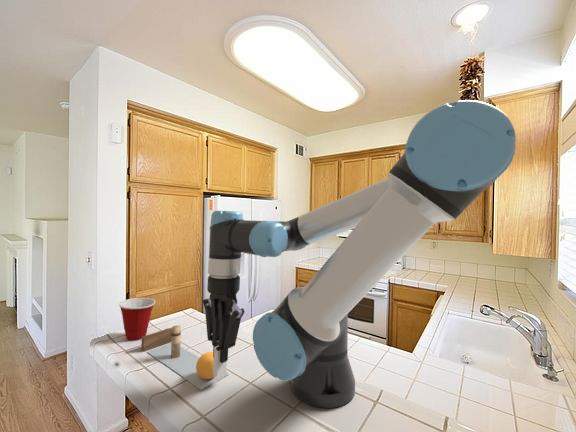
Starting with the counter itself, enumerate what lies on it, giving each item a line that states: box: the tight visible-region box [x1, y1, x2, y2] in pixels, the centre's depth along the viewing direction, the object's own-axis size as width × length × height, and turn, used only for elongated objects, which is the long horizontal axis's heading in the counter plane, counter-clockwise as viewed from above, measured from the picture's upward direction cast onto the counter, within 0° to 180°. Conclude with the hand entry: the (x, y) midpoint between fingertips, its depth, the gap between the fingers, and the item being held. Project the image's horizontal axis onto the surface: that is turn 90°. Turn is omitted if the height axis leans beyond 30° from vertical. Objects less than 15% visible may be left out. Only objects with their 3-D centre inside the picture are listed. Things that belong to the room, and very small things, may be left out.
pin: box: [170, 325, 182, 358], centre depth 75 cm, size 2×2×8 cm
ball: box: [196, 351, 215, 379], centre depth 65 cm, size 6×6×6 cm
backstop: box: [140, 327, 172, 353], centre depth 82 cm, size 2×9×4 cm, turn 142°
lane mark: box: [146, 342, 230, 391], centre depth 72 cm, size 28×8×1 cm, turn 52°
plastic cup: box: [118, 297, 156, 342], centre depth 88 cm, size 11×11×12 cm
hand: (219, 373), depth 62 cm, fingers closed
